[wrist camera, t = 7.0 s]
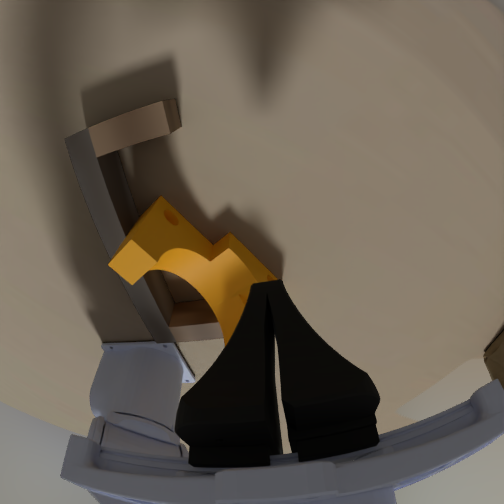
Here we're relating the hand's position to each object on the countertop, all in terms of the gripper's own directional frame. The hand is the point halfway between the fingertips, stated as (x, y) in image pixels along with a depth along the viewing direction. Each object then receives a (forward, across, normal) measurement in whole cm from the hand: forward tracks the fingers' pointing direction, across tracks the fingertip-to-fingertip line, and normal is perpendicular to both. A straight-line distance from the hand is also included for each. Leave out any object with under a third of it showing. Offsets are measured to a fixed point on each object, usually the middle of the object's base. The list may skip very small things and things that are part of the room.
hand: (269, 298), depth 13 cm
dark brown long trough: (+9, +8, 0) cm, 12 cm away
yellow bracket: (+9, +4, +2) cm, 11 cm away
